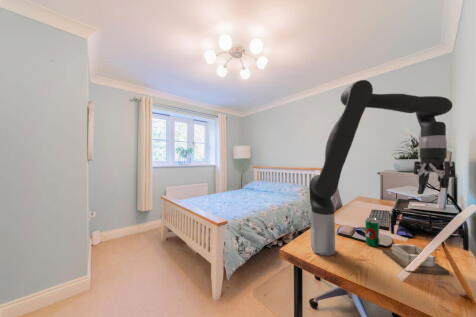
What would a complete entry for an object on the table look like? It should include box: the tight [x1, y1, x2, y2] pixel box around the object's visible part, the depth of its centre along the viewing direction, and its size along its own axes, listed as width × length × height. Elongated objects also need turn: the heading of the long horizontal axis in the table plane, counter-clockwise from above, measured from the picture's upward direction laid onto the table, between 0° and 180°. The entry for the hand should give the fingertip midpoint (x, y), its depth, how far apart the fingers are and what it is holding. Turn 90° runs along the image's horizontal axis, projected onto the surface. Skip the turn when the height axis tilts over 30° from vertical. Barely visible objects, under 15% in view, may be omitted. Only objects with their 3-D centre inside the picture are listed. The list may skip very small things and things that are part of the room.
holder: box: [382, 243, 450, 275], centre depth 68 cm, size 13×13×5 cm
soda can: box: [364, 217, 380, 248], centre depth 82 cm, size 5×5×12 cm
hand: (432, 186), depth 73 cm, fingers open, 8 cm apart
